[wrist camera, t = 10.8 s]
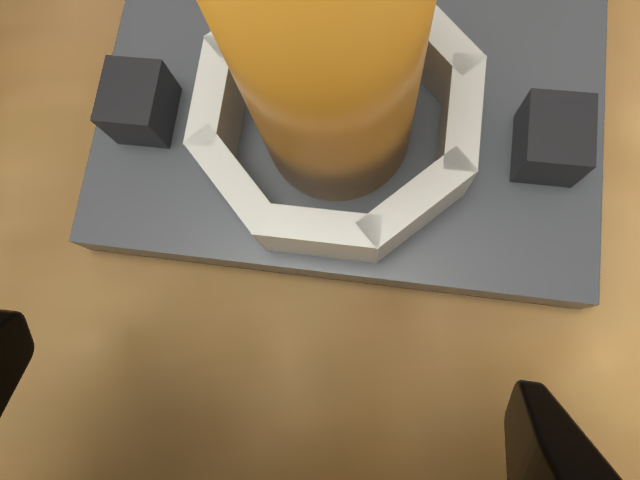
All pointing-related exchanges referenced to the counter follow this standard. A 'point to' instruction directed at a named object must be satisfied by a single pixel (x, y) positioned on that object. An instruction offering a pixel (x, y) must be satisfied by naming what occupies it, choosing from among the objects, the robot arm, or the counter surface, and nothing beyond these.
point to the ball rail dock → (398, 192)
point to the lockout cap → (327, 84)
